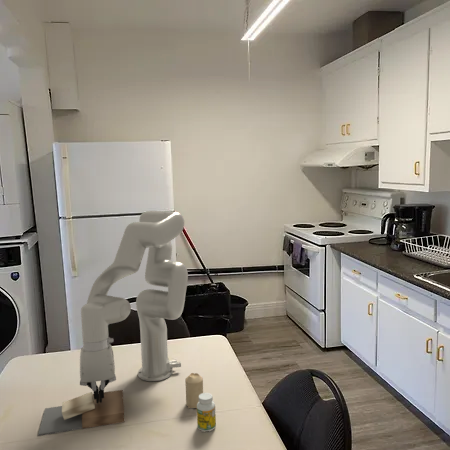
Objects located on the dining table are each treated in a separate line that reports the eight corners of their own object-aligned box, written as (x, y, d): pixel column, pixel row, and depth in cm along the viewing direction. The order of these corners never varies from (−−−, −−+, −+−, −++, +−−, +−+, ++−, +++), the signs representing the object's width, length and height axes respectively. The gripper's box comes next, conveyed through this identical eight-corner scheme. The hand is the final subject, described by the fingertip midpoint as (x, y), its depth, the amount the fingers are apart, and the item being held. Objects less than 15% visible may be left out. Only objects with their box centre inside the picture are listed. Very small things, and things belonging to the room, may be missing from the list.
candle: (190, 411, 135) (189, 380, 134) (183, 402, 140) (182, 373, 139) (206, 406, 138) (205, 376, 136) (199, 398, 143) (198, 369, 141)
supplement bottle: (218, 423, 128) (217, 393, 127) (211, 434, 123) (210, 402, 122) (202, 420, 130) (201, 390, 129) (194, 430, 125) (193, 399, 124)
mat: (85, 404, 141) (85, 402, 140) (82, 428, 127) (82, 427, 127) (45, 409, 138) (45, 408, 137) (38, 435, 124) (38, 434, 124)
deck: (123, 398, 144) (122, 389, 143) (124, 421, 130) (124, 412, 130) (85, 404, 141) (84, 395, 140) (82, 428, 127) (81, 419, 127)
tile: (94, 398, 137) (92, 391, 136) (94, 408, 131) (92, 401, 130) (64, 409, 134) (62, 402, 133) (64, 420, 128) (61, 412, 128)
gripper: (120, 336, 138) (123, 391, 140) (70, 342, 134) (74, 398, 136) (121, 345, 130) (124, 403, 133) (68, 351, 127) (72, 411, 129)
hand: (99, 400), depth 134 cm, fingers closed
